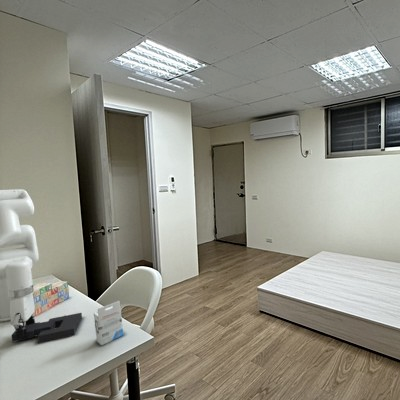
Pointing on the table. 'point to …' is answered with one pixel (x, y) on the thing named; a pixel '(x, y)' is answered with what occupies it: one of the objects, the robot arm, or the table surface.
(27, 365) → the table surface
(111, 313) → the ink box
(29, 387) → the table surface
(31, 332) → the pad
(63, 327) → the socket pad
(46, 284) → the stack of blocks
